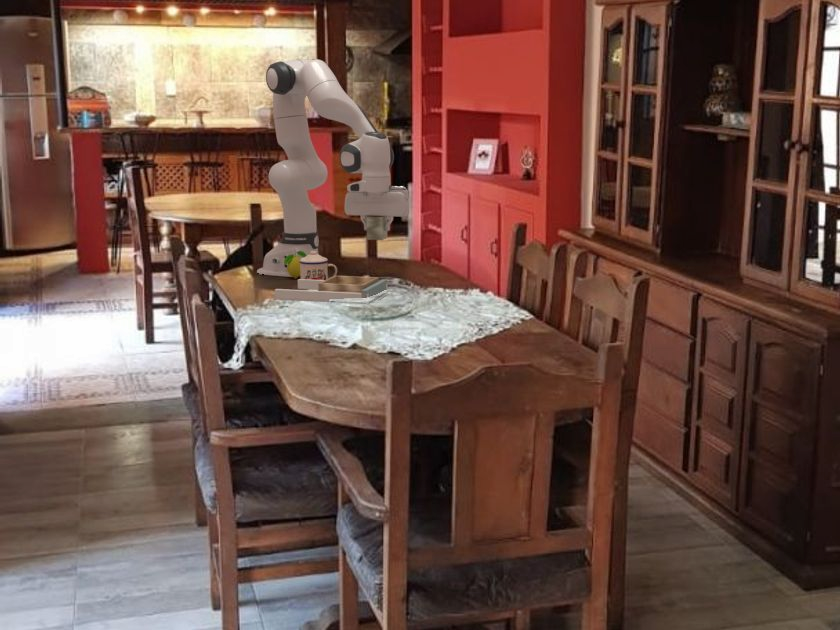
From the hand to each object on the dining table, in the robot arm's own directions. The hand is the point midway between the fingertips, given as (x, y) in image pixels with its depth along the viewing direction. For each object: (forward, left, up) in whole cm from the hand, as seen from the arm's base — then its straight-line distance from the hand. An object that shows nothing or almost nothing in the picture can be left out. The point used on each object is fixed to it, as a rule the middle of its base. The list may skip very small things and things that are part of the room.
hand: (377, 230), depth 335 cm
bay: (-8, -18, -19) cm, 27 cm away
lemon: (-33, +13, -19) cm, 41 cm away
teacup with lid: (-20, 0, -19) cm, 28 cm away
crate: (-3, -18, -18) cm, 25 cm away
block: (0, 0, -3) cm, 3 cm away
